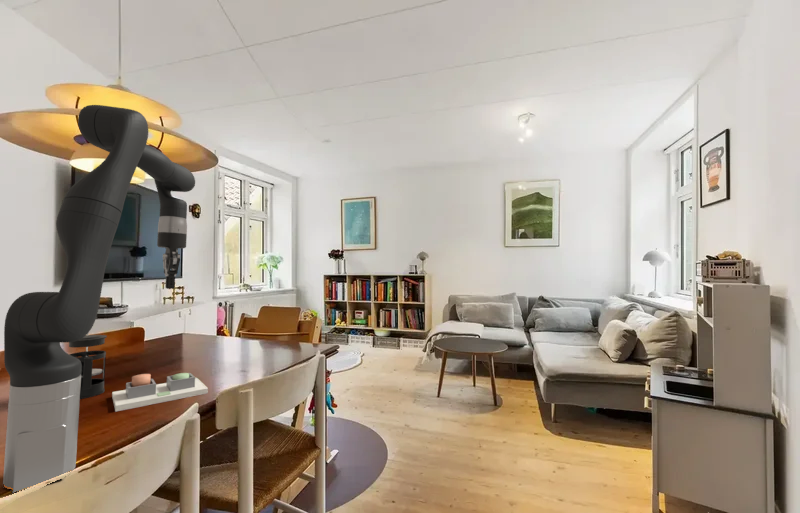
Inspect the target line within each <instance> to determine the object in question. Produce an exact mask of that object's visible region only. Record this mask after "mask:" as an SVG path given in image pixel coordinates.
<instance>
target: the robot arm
mask: <svg viewBox="0 0 800 513" xmlns="http://www.w3.org/2000/svg"><path fill="white" fill-rule="evenodd" d="M77 123H78V128H79V132H80V133H81V135H82V136H83V138H84V139H85V140H86V141H87V142H88V143H89V144H91V145H93V146H94V147H97V148H99V149H101V150H103V151H106V152H108V153H109V154H107V157H106V158H104V160H103V162H101V164H99V165H98V166H96V167H95V168H94V169H92V170H91V171H90V172H87V174H86V175H84V176H83V177H81V178H80V179H79V180H77V181H76V182H75V183H74V184H73V185H72V186H70V187H69V188H68V189H67V192H65V195H64V197H63V200H62V203H61V206H60V208H59V212H58V214H57V217H56V222H55V226H56V230H57V231H56V232H57V235H58V239H59V241H60V244H61V246H62V249H63V252H64V254H65V259H66V267H65V268H66V269H65V274H64V278H63V281H62V284H61V286H60V289H59V291H53V292H52V291H33V292H28V293H25V294H22V295H21V296H19V297H17V299H15V300H14V301H13V302H12V303H11V305H10V307H9V308H8V310H7V312H6V316H5V320H4V328H3V330H4V331H3V335H4V337H3V338H4V339H3V340H4V343H3V344H4V346H3V347H4V349H3V350H4V354H3V355H4V356H3V358H4V360H3V361H4V366H5V371H6V373H8V375H9V391H8V392H9V393H8V395H9V396H8V405H7V407H8V408H7V417H6V418H7V421H6V434H5V435H6V436H5V447H4V448H5V450H4V460H3V461H4V462H3V463H4V465H3V476H2V477H3V479H2V485H3V484H4V485H5V486H7V487H11V488H13V491H12V490H11V491H12V492H11V493H12V494H15V493H14V492H16V491H19V490H22V489H24V488H27V487H30V486H33V485H36V484H38V483H41V482H43V481H46V480H49V479H51V478H53V477H56V476H59V475H61V474H64V473H66V472H68V471H70V470H72V471H74V469H76V466H77V464H76V463H77V450H78V433H79V432H78V431H79V419H80V418H79V416H80V415H79V414H80V400H81V399H80V386H81V369H82V364H81V361H80V360H79V359H77V358H75V357H73V356H71V355H69V354H70V353H67V352H66V351H65V350H64V349H63V348H62V346H61V343H69V342H75V341H78V340H80V339H82V338H83V337H84V336H86V335H87V334H88V333H90V332H91V330H92V329H93V327H94V324H95V322H96V320H97V319H96V317H98V312H99V307H100V301H101V296H102V289H103V285H104V277H105V271H106V268H107V263H108V260H109V256H110V252H111V248H112V245H113V240H114V238H115V235H116V232H117V230H118V227H119V224H120V221H121V217H122V213H123V209H124V205H125V201H126V198H127V194H128V191H129V188H130V185H131V182H132V179H133V177H134V174H135V172H136V170H137V168H138V169H140V170H141V171H143V172H144V173H145V174H147V175H148V176H149V177H151V178H152V179H154V185H155V187H156V191H157V194H158V199H159V217H158V223H157V242H156V243H157V244H156V246H157V247H158V248H161V249H162V248H165V253H162V262H163V273H164V276H165V284H164V285H165V286H164V287H165V289H168V290H169V289H170V290H172V289H175V287H176V276H177V275H178V273H179V272H178V271H179V268H180V262H181V254H180V253H179V249H186V248H187V238H188V236H187V234H188V223H187V213H188V204H187V201H185V200H184V199H181V198H177V197H173V196H172V192H180V193H188V192H190V191H192V190H193V189H194V188H195V186H196V178H195V176H194V174H193V172H192V171H191V170H190V169H188V168H186V167H185V166H183V165H180V164H179V163H177V162H174V161H172V160H171V159H170V158H169V157H168V156H167V155H166V154H165V153H163V152H162V151H160V150H159V149H157V148H155V147H153V146H151V145H149V144H147V143H148V139H149V138H148V137H149V124H148V121H147V119H146V117H145V116H144V115H143V114H142V113H141V112H139V111H137V110H134V109H130V108H125V107H117V106H109V105H101V104H90V105H86V106H84V107H83V108H81V109H80V112H79V113H78V118H77ZM16 493H17V492H16Z"/></svg>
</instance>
